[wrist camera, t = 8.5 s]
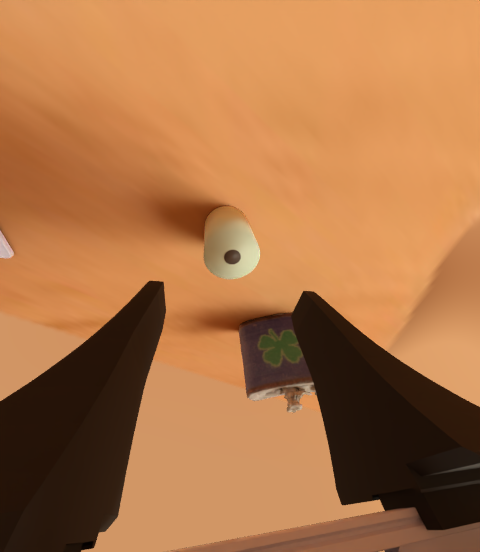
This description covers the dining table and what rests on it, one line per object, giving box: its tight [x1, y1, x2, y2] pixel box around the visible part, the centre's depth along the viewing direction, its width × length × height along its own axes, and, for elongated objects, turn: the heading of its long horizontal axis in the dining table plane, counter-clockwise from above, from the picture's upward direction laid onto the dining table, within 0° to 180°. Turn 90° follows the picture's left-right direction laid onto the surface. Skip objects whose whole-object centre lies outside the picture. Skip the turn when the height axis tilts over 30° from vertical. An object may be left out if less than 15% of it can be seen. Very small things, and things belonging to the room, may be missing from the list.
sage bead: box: [204, 206, 260, 279], centre depth 15 cm, size 4×4×5 cm
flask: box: [239, 313, 317, 412], centre depth 22 cm, size 9×3×11 cm, turn 97°
